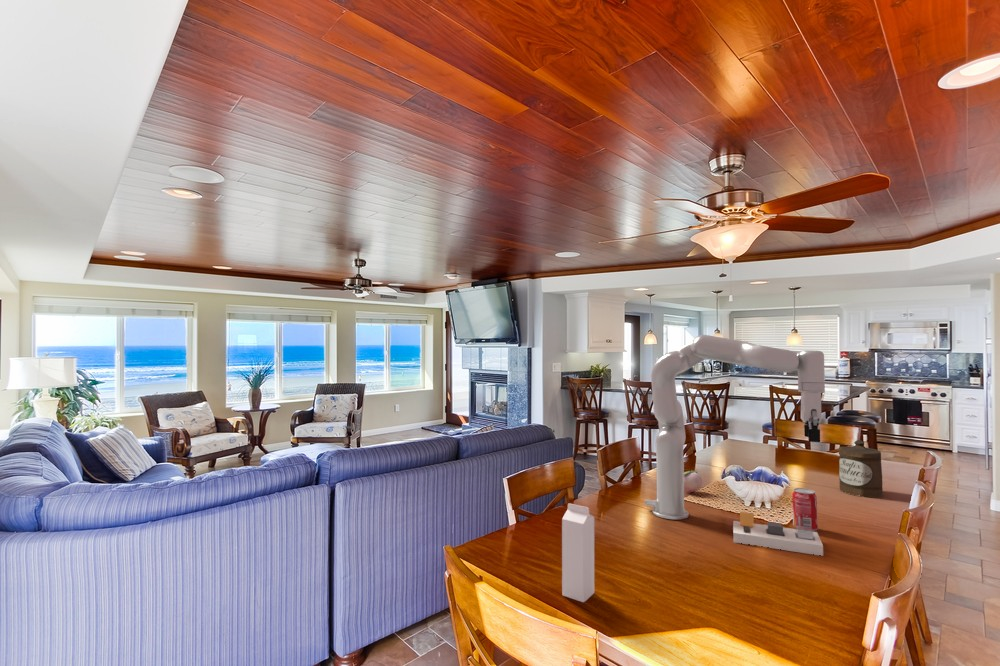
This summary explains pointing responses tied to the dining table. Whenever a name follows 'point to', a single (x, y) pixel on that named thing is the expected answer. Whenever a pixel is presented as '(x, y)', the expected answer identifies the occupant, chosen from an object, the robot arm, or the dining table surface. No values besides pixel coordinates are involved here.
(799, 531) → the button grey
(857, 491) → the wooden container
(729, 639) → the dining table surface
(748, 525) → the thick orange block
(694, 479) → the decorative fruit
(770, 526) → the button black
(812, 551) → the panel
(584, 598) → the milk
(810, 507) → the soda can
